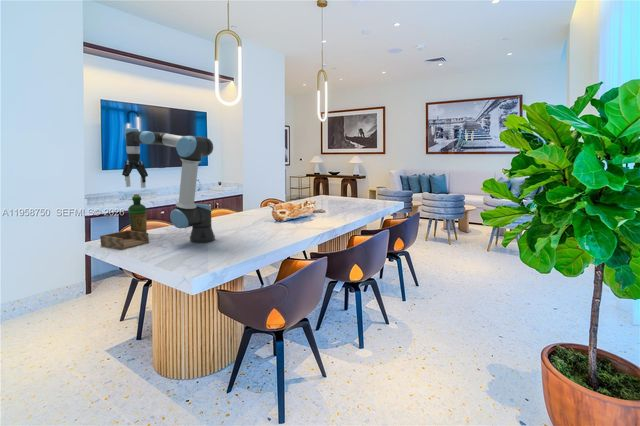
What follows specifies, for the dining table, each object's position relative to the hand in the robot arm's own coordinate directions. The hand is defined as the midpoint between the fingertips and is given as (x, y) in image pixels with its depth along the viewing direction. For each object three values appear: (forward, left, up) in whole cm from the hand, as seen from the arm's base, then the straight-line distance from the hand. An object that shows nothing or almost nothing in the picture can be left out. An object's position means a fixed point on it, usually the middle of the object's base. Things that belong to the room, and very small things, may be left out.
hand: (135, 187), depth 232 cm
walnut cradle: (-9, +17, -33) cm, 38 cm away
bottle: (0, 0, -33) cm, 33 cm away
